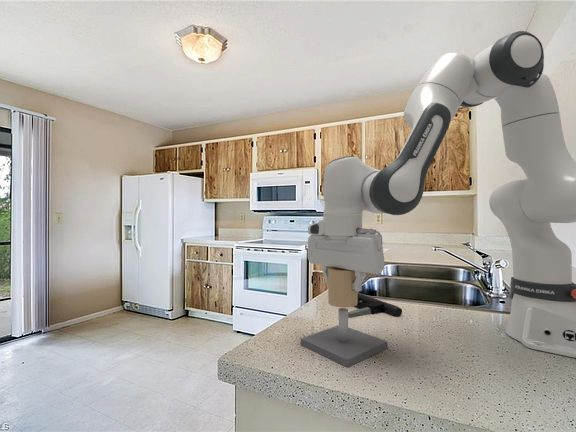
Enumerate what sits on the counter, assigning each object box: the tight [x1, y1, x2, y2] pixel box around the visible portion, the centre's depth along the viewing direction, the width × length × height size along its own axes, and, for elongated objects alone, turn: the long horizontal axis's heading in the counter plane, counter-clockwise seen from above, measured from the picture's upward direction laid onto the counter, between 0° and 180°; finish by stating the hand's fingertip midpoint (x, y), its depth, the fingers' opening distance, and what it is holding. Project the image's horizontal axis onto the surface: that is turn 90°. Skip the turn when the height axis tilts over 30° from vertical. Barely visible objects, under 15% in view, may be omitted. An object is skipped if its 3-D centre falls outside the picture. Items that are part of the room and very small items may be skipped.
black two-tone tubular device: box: [348, 292, 403, 319], centre depth 98 cm, size 3×20×16 cm
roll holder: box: [300, 307, 389, 368], centre depth 71 cm, size 14×14×8 cm
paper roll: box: [327, 267, 358, 309], centre depth 71 cm, size 6×6×8 cm
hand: (342, 287), depth 71 cm, fingers closed on paper roll, 6 cm apart
